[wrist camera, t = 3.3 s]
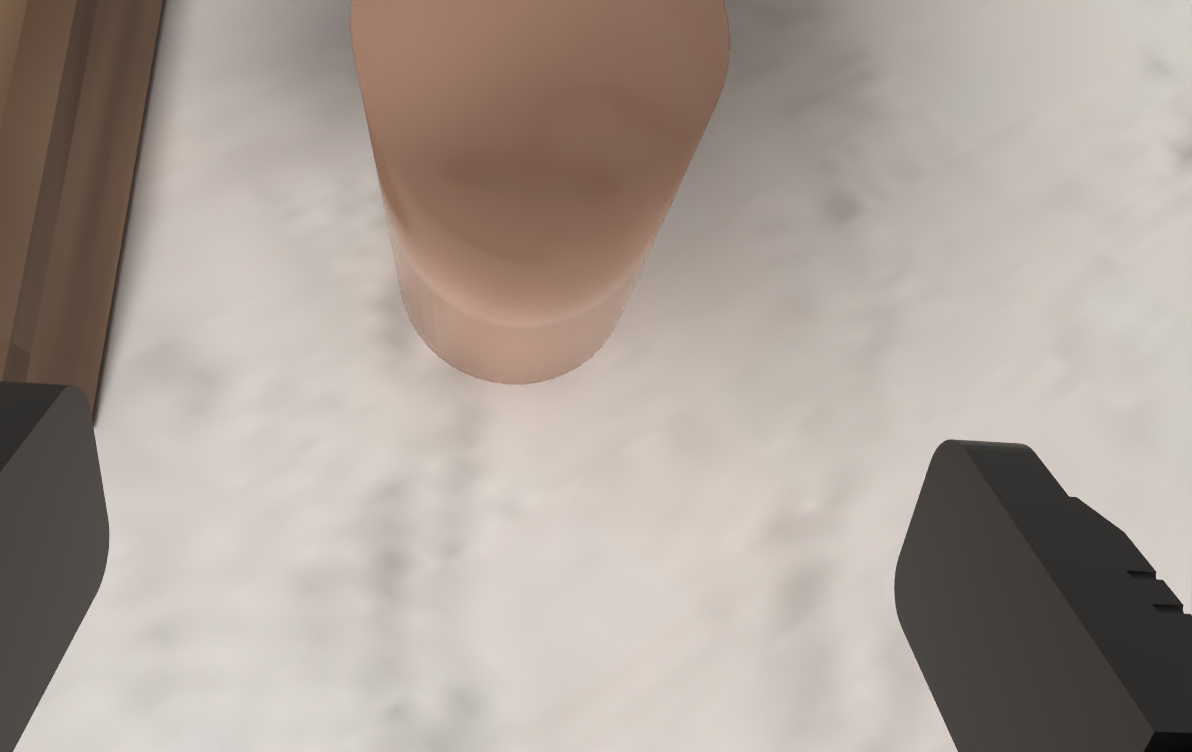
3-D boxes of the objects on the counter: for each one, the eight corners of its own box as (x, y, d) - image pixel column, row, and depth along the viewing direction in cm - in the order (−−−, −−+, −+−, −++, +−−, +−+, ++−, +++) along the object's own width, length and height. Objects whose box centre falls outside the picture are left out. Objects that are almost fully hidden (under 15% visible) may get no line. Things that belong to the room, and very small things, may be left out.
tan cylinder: (629, 180, 22) (729, -113, 14) (623, 391, 21) (729, 214, 12) (409, 162, 22) (369, -155, 13) (389, 376, 21) (331, 181, 12)
